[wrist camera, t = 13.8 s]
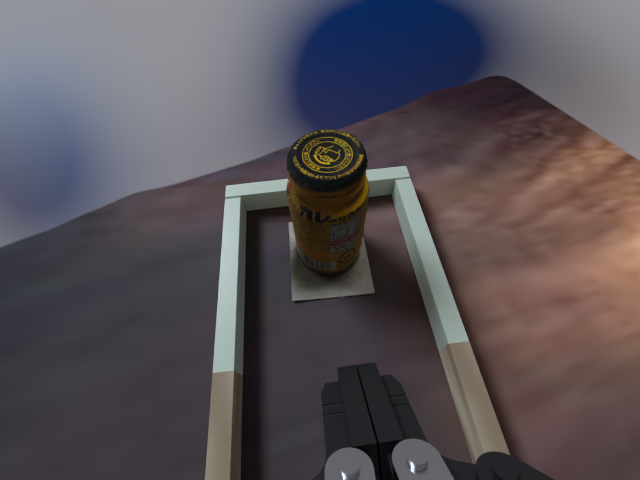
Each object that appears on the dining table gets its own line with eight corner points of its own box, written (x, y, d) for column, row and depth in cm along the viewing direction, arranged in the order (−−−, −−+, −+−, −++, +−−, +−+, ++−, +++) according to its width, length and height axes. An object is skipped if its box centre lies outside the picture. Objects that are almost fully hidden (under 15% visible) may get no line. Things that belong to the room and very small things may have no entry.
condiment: (359, 216, 32) (370, 114, 21) (374, 293, 27) (398, 211, 17) (288, 223, 31) (266, 124, 21) (292, 302, 27) (266, 224, 17)
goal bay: (223, 378, 24) (212, 373, 22) (233, 201, 33) (226, 185, 31) (457, 349, 24) (468, 341, 22) (401, 182, 34) (405, 165, 31)
